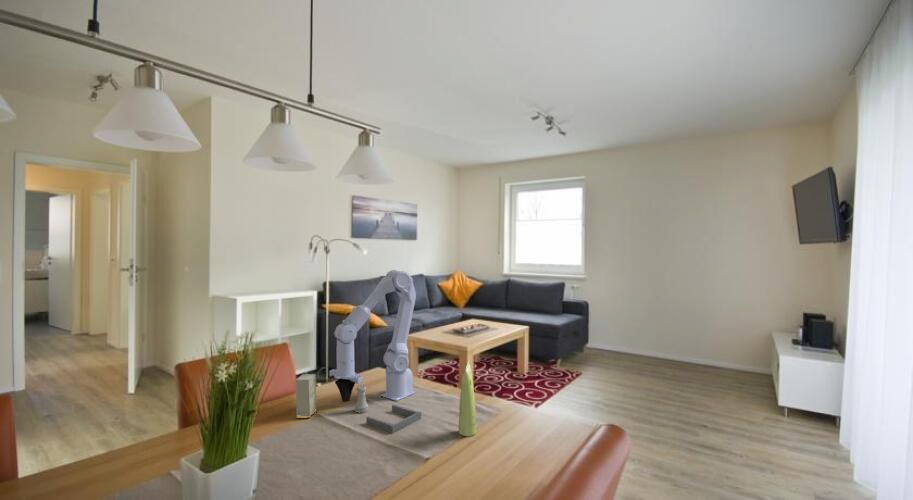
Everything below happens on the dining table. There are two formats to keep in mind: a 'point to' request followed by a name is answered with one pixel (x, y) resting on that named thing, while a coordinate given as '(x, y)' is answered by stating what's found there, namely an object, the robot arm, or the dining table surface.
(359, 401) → the rook chess piece
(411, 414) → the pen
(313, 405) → the skincare box
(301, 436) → the dining table surface
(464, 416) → the light green tall cone
